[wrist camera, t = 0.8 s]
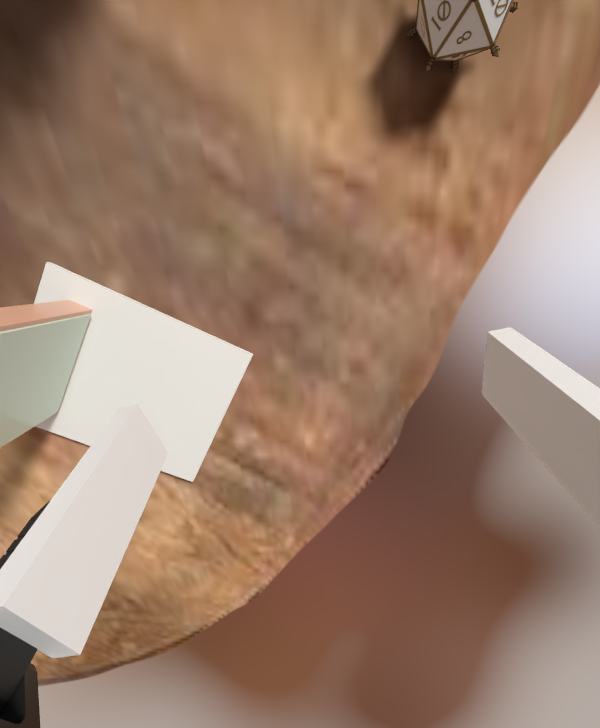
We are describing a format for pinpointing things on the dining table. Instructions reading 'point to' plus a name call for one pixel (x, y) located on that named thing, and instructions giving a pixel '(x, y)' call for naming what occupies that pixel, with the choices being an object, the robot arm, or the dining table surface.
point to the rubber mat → (143, 372)
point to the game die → (460, 27)
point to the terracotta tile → (36, 361)
